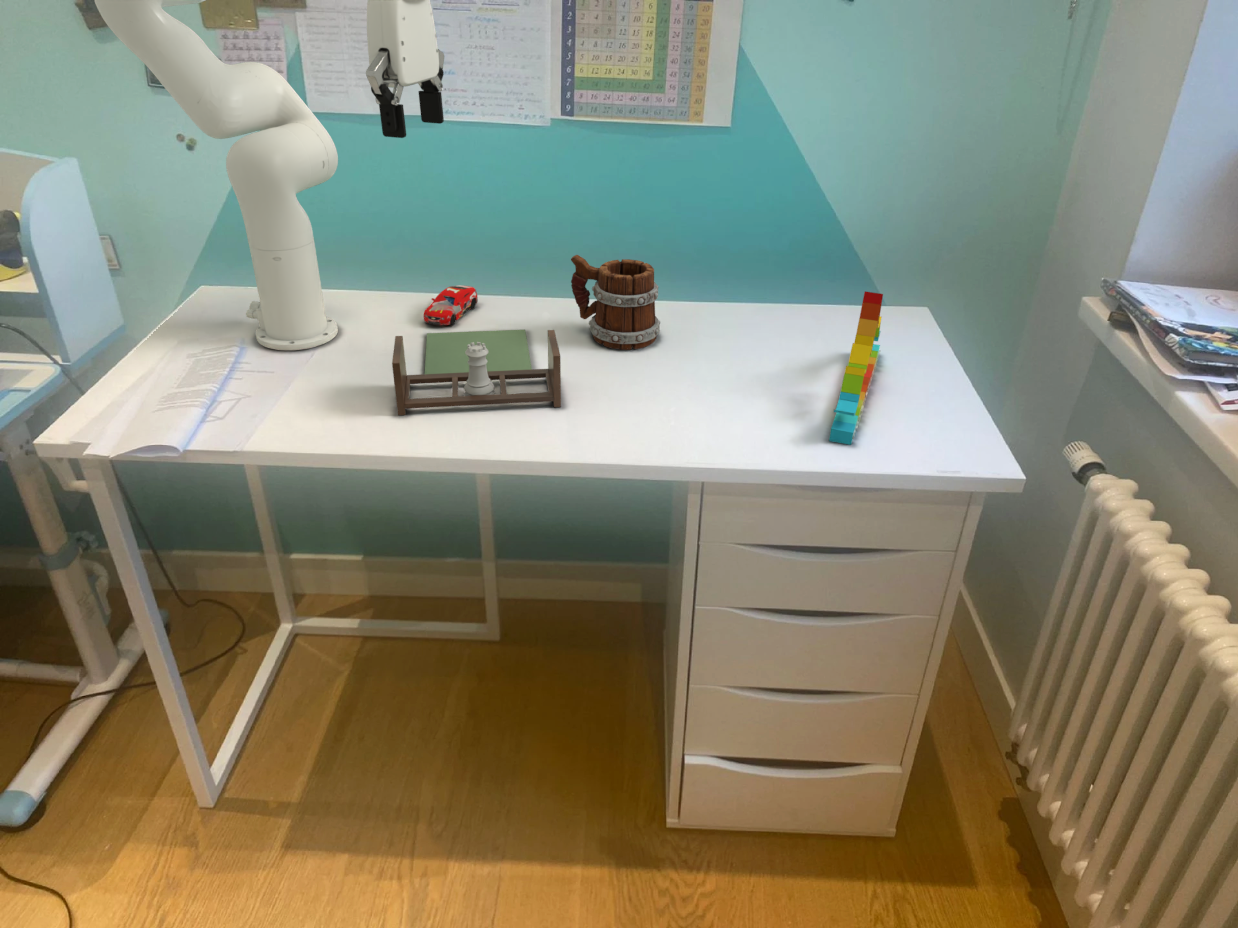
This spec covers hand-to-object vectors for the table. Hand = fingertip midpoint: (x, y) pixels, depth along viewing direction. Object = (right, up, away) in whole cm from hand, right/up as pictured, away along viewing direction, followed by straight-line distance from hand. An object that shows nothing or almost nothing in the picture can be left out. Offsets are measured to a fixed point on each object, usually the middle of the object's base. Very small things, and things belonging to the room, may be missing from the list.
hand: (414, 129), depth 122 cm
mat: (+5, -27, +22) cm, 36 cm away
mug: (+27, -24, +30) cm, 46 cm away
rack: (+7, -35, +10) cm, 37 cm away
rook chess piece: (+7, -35, +10) cm, 37 cm away
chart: (+62, -34, +14) cm, 73 cm away
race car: (-2, -19, +36) cm, 40 cm away
